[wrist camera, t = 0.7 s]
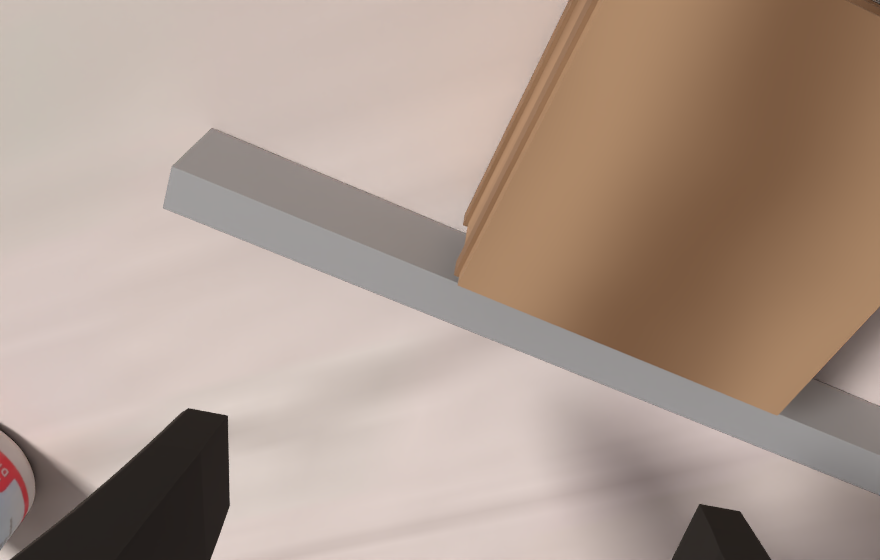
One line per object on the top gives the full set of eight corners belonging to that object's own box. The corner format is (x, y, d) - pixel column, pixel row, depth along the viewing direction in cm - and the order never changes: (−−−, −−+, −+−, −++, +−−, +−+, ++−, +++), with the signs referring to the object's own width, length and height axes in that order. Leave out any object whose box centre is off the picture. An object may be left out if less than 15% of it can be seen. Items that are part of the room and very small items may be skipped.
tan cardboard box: (961, 43, 16) (1074, 104, 13) (739, 320, 20) (778, 420, 17) (625, -122, 15) (650, -104, 12) (466, 205, 19) (451, 287, 16)
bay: (1357, 98, 16) (1577, 174, 12) (926, 469, 23) (994, 583, 19) (346, -425, 13) (279, -507, 10) (200, 172, 20) (132, 245, 17)
